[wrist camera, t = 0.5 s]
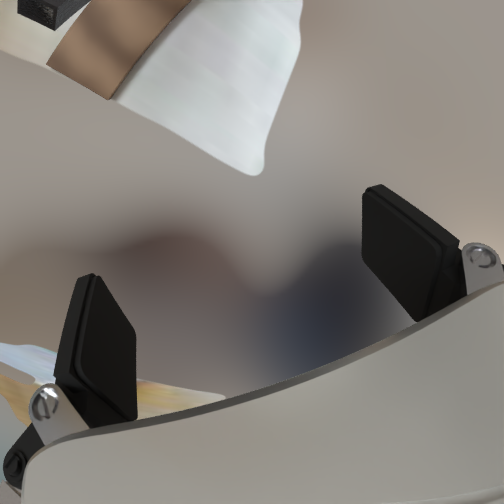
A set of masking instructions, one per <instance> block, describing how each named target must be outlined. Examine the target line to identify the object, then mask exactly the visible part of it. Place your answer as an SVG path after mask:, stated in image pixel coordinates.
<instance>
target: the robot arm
mask: <svg viewBox="0 0 504 504" xmlns="http://www.w3.org/2000/svg"><path fill="white" fill-rule="evenodd" d="M459 242H460V241H459V240H458V239H457V238H456V237H455V236H453V235H452V234H451V233H450V232H448V231H447V230H446V229H444V228H443V227H442V226H440V225H439V224H438V223H436V222H435V221H434V220H433V219H431V218H430V217H428V216H427V215H426V214H424V213H423V212H421V211H420V210H419V209H417V208H416V207H415V206H413V205H412V204H410V203H409V202H408V201H406V200H405V199H403V198H402V197H400V196H399V195H397V194H396V193H394V192H393V191H391V190H390V189H388V188H387V187H385V186H384V185H382V184H380V185H376V186H372V187H369V188H367V189H366V191H365V193H363V196H362V258H363V261H364V262H365V264H366V265H367V266H368V267H369V268H370V269H371V271H372V272H373V273H374V274H375V275H376V276H377V277H378V278H379V280H380V281H381V282H382V283H383V284H384V285H385V287H386V288H387V289H388V290H389V291H390V292H391V293H392V295H393V296H394V297H395V298H396V299H397V301H398V302H399V303H400V304H401V305H402V306H403V308H404V309H405V310H406V311H407V313H408V314H409V315H410V316H411V317H412V319H413V320H414V321H416V322H418V323H416V324H414V325H412V326H410V327H408V328H406V329H404V330H402V331H400V332H398V333H396V334H394V335H392V336H390V337H388V338H386V339H384V340H382V341H380V342H377V343H375V344H373V345H371V346H369V347H367V348H364V349H362V350H360V351H358V352H355V353H353V354H351V355H349V356H346V357H344V358H341V359H339V360H337V361H334V362H332V363H330V364H327V365H324V366H322V367H319V368H317V369H314V370H312V371H309V372H306V373H304V374H301V375H298V376H296V377H293V378H290V379H287V380H284V381H282V382H279V383H276V384H273V385H270V386H267V387H264V388H261V389H258V390H255V391H251V392H248V393H245V394H242V395H239V396H235V397H232V398H228V399H225V400H221V401H218V402H214V403H210V404H206V405H203V406H199V407H195V408H191V409H186V410H182V411H178V412H173V413H169V414H164V415H160V416H155V417H150V418H145V419H140V420H136V419H137V417H138V411H137V386H136V334H135V330H134V328H133V327H132V325H131V324H130V322H129V321H128V319H127V318H126V316H125V315H124V313H123V312H122V310H121V309H120V307H119V305H118V304H117V302H116V301H115V299H114V298H113V296H112V294H111V293H110V291H109V290H108V288H107V286H106V285H105V283H104V281H103V280H102V278H101V277H100V276H96V275H94V274H93V273H91V274H88V275H85V276H83V277H80V278H78V279H77V281H76V284H75V288H74V291H73V294H72V298H71V301H70V305H69V309H68V312H67V316H66V320H65V324H64V328H63V332H62V336H61V341H60V345H59V349H58V354H57V359H56V364H55V369H54V374H53V376H54V377H56V381H55V384H53V383H49V384H45V385H42V386H41V387H40V388H38V389H37V390H36V391H35V393H34V394H33V396H32V398H31V400H30V403H29V416H30V419H31V421H32V423H31V424H30V425H29V427H28V428H27V429H26V430H25V432H24V433H23V434H22V435H21V436H20V438H19V439H18V440H17V441H16V442H15V444H14V445H13V446H12V448H11V449H10V450H9V451H8V453H7V454H6V456H5V459H4V463H3V471H4V476H5V478H6V480H7V481H4V480H2V482H1V484H0V504H504V265H503V264H501V261H500V258H499V256H498V254H497V253H496V252H495V250H493V249H492V248H491V247H489V246H487V245H485V244H481V243H468V244H466V245H465V246H464V247H463V249H462V251H461V250H460V249H459V248H458V246H459ZM134 420H135V421H134Z"/></svg>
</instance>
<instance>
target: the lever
mask: <svg viewBox="0 0 504 504" xmlns="http://www.w3.org/2000/svg"><path fill="white" fill-rule="evenodd" d="M90 1H91V0H18V14H21V15H23V16H25V17H27V18H29V19H31V20H33V21H36V22H38V23H40V24H42V25H44V26H46V27H48V28H50V29H52V30H54V31H55V30H56V29H57V28H59V27H60V26H61V25H62V24H63V23H64V22H65V21H66V20H68V19H69V18H70V17H71V16H72V15H73V14H75V13H76V12H77V11H78V10H79V9H81V8H82V7H83V6H84V5H86V4H87V3H88V2H90Z"/></svg>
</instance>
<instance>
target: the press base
mask: <svg viewBox="0 0 504 504" xmlns="http://www.w3.org/2000/svg"><path fill="white" fill-rule="evenodd" d="M190 1H191V0H91V2H90V3H89V4H88V5H87V7H86V8H85V9H84V10H83V12H82V13H81V14H80V15H79V17H78V18H77V19H76V21H75V22H74V23H73V25H72V26H71V27H70V29H69V30H68V31H67V33H66V34H65V36H64V37H63V39H62V40H61V42H60V43H59V44H58V46H57V48H56V49H55V51H54V52H53V54H52V55H51V57H50V58H49V60H48V62H47V63H46V65H48V66H50V67H51V68H53V69H55V70H57V71H59V72H60V73H62V74H64V75H66V76H67V77H69V78H71V79H73V80H74V81H76V82H78V83H80V84H81V85H83V86H85V87H86V88H88V89H90V90H91V91H93V92H95V93H96V94H98V95H100V96H102V97H103V98H105V99H106V100H110V99H111V97H112V96H113V94H114V93H115V91H116V90H117V88H118V87H119V86H120V84H121V83H122V81H123V80H124V79H125V77H126V76H127V74H128V73H129V72H130V70H131V69H132V68H133V66H134V65H135V64H136V62H137V61H138V60H139V59H140V57H141V56H142V55H143V54H144V52H145V51H146V50H147V49H148V47H149V46H150V45H151V44H152V43H153V41H154V40H155V39H156V38H157V37H158V35H159V34H160V33H161V32H162V31H163V30H164V29H165V27H166V26H167V25H168V24H169V23H170V22H171V21H172V20H173V19H174V18H175V17H176V15H177V14H178V13H179V12H180V11H181V10H182V9H183V8H184V7H185V6H186V5H187V4H188V3H189V2H190Z"/></svg>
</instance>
